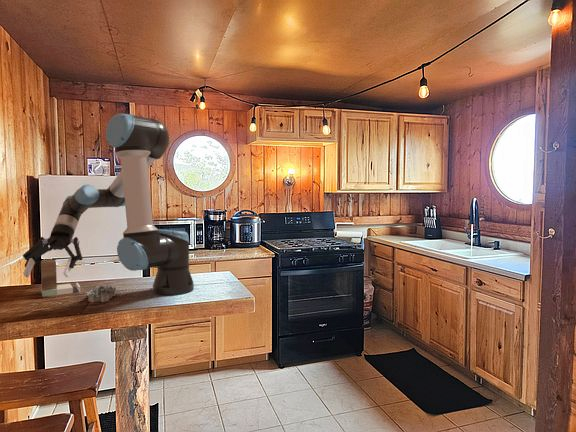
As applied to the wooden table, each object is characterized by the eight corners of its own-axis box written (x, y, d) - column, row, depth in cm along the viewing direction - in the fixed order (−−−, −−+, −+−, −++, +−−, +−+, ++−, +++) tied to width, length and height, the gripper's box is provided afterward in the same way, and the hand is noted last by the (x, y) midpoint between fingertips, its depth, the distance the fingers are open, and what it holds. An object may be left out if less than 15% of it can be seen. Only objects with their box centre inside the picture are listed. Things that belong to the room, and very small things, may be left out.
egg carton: (107, 303, 135) (106, 291, 135) (84, 303, 134) (84, 291, 134) (118, 294, 146) (118, 283, 145) (97, 294, 145) (97, 283, 145)
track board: (80, 292, 147) (80, 286, 147) (42, 296, 140) (42, 291, 140) (77, 287, 153) (77, 282, 152) (41, 292, 146) (41, 287, 145)
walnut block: (56, 288, 143) (56, 261, 143) (42, 290, 141) (41, 262, 140) (55, 286, 147) (54, 259, 146) (41, 287, 145) (40, 260, 144)
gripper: (100, 235, 159) (85, 280, 146) (34, 234, 157) (13, 281, 143) (94, 223, 154) (78, 269, 140) (26, 222, 151) (3, 269, 138)
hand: (45, 275), depth 142 cm, fingers open, 13 cm apart
